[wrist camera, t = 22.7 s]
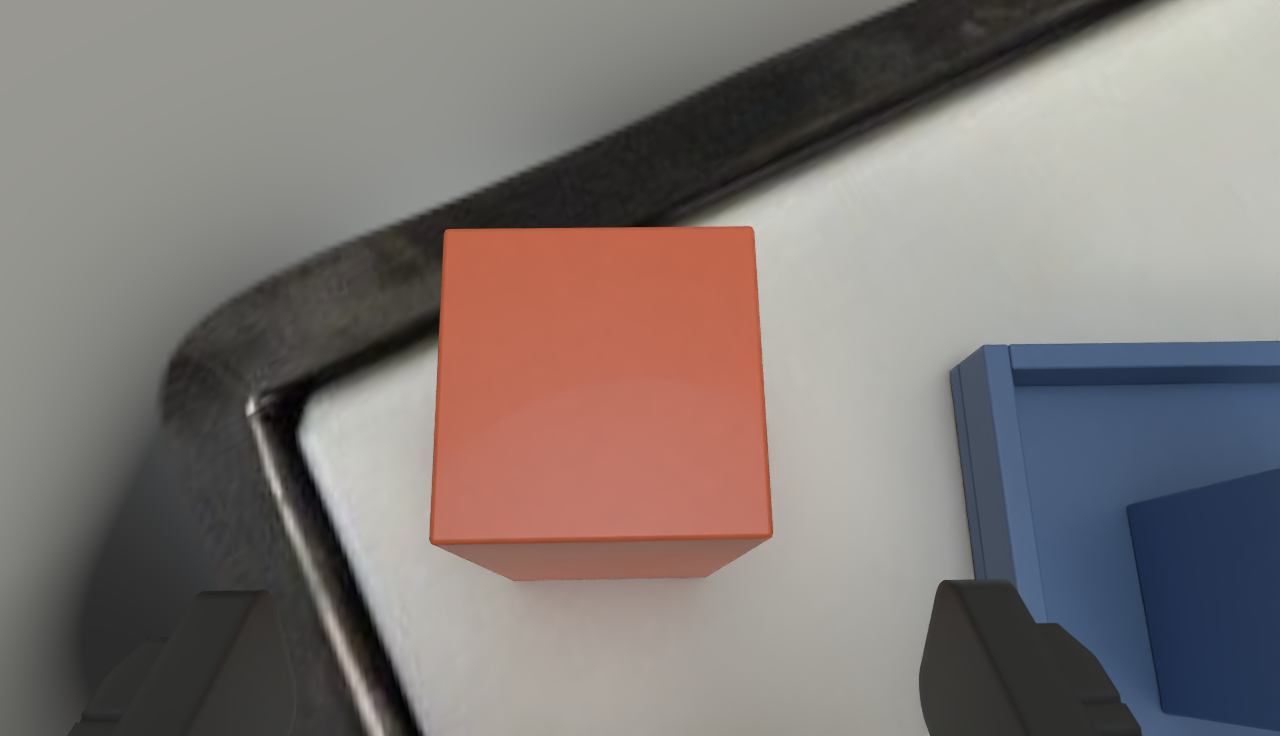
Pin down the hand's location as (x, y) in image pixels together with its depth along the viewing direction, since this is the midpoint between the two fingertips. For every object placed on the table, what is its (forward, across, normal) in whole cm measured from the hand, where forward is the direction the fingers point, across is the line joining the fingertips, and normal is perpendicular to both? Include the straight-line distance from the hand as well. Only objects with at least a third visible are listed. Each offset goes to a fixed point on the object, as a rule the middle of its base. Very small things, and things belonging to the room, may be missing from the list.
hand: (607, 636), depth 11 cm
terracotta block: (+9, 0, +4) cm, 10 cm away
